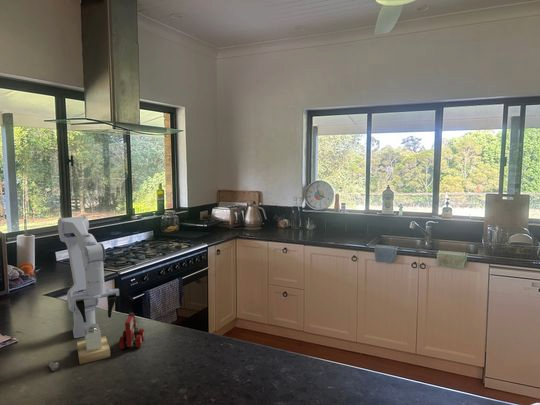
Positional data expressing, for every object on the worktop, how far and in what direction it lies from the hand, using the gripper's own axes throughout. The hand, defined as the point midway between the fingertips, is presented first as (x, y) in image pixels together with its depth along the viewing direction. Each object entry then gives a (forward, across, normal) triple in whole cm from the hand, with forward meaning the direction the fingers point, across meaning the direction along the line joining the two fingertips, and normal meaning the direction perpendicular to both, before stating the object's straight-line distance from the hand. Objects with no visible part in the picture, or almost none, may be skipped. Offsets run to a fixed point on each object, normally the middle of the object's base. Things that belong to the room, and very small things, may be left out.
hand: (97, 319), depth 131 cm
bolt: (+10, -14, -7) cm, 19 cm away
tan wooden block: (+10, -2, -3) cm, 11 cm away
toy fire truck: (+11, +11, -3) cm, 15 cm away
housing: (+8, -2, -3) cm, 9 cm away
